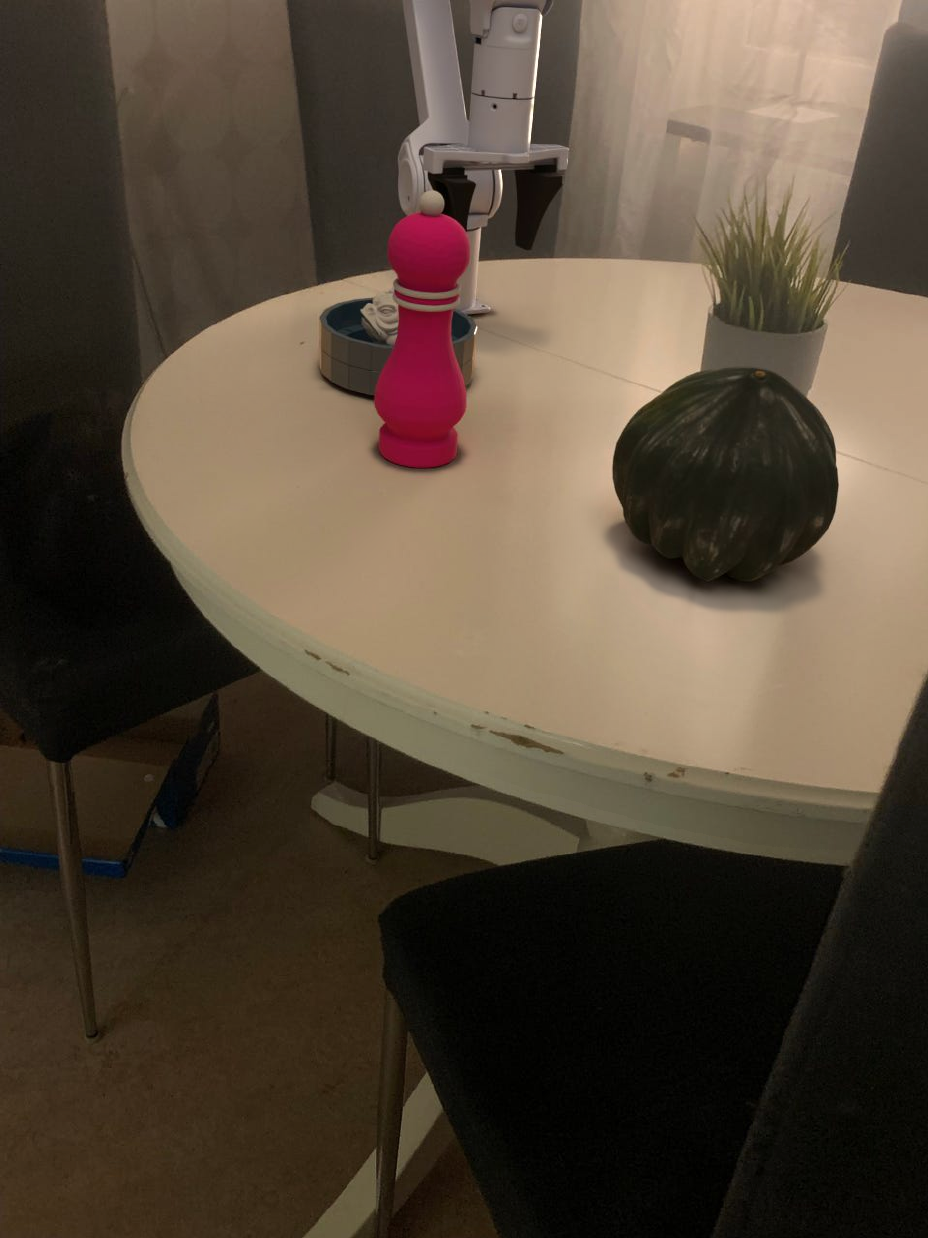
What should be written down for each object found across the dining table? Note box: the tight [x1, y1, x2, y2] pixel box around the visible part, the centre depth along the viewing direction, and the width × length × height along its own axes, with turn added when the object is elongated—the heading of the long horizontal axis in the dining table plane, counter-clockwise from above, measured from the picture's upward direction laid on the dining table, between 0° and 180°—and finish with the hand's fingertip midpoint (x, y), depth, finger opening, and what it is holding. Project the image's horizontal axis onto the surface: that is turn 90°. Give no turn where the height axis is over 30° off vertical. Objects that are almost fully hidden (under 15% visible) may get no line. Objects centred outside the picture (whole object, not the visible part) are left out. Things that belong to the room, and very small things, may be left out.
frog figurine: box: [360, 292, 399, 346], centre depth 98 cm, size 6×7×7 cm
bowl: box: [318, 297, 478, 396], centre depth 99 cm, size 14×14×5 cm
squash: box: [611, 365, 840, 582], centre depth 73 cm, size 14×15×15 cm
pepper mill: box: [373, 190, 470, 469], centre depth 81 cm, size 7×7×20 cm
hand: (490, 249), depth 104 cm, fingers open, 7 cm apart
